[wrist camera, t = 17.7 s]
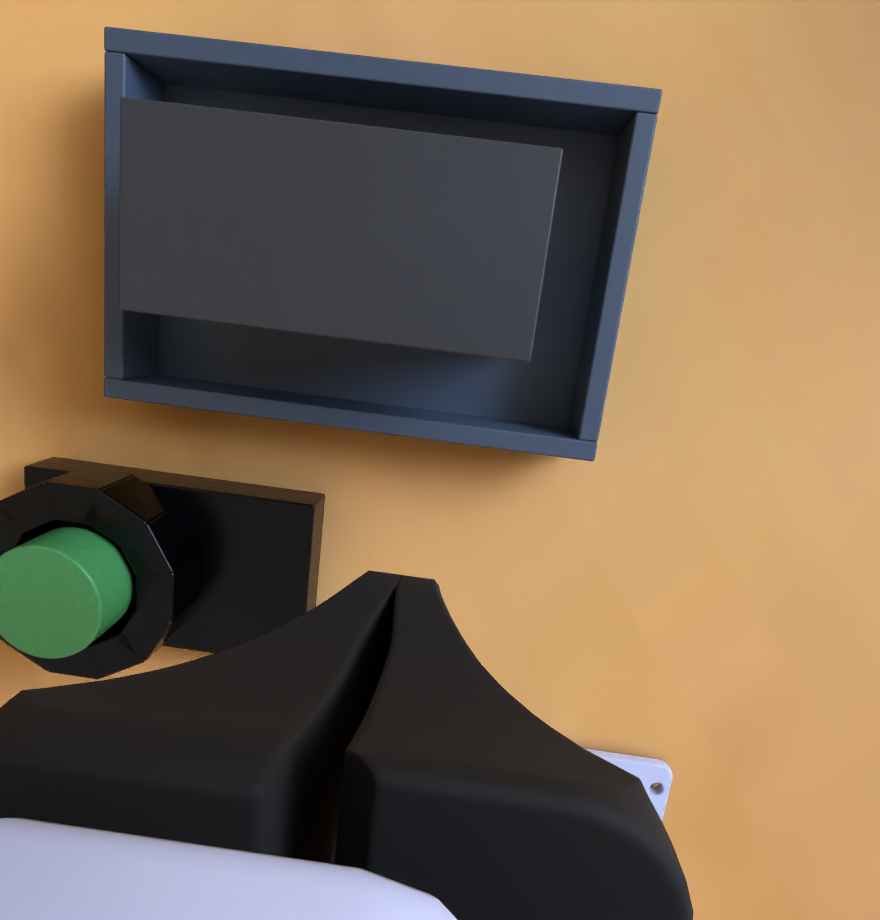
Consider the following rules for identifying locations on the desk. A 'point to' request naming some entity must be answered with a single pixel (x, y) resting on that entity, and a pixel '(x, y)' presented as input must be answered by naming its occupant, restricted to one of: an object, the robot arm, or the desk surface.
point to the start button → (62, 592)
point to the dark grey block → (334, 228)
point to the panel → (177, 555)
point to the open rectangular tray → (382, 365)
